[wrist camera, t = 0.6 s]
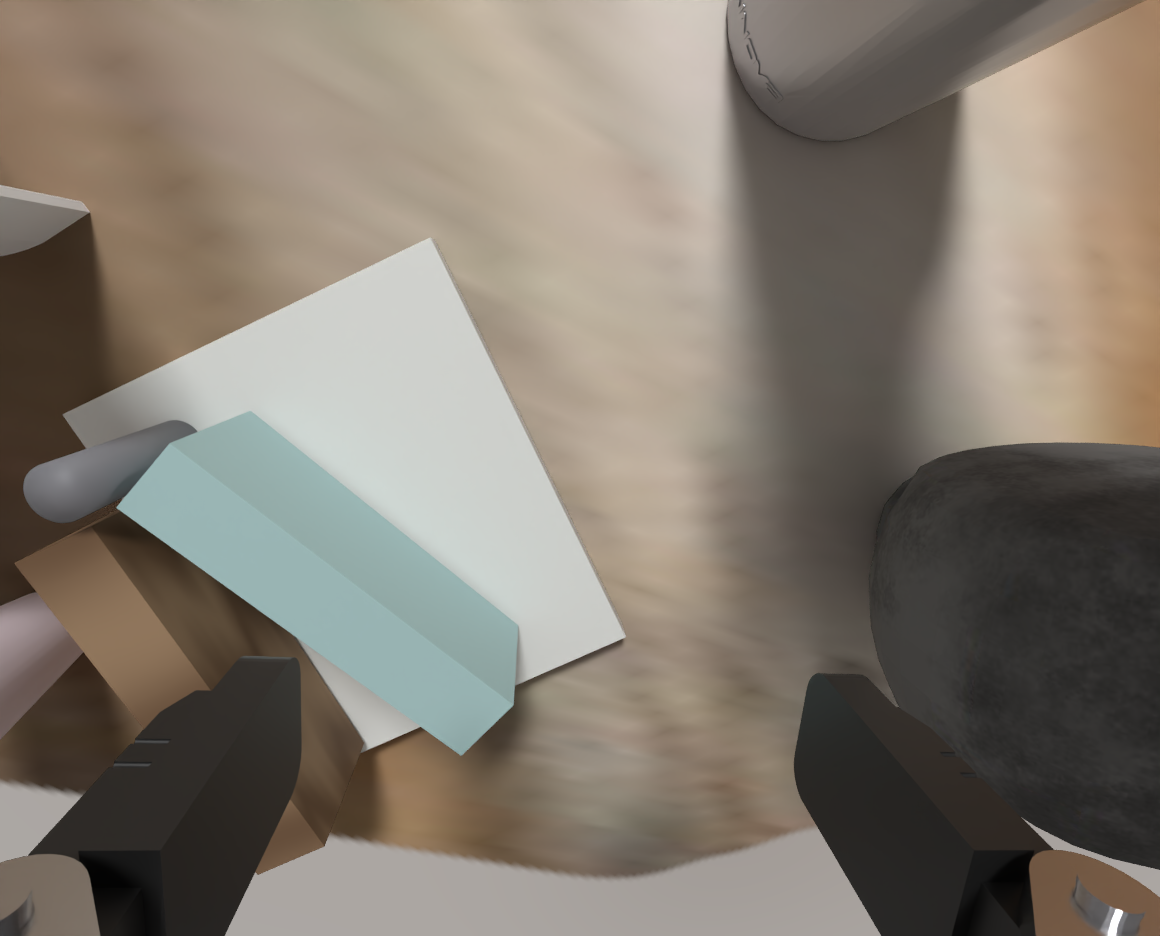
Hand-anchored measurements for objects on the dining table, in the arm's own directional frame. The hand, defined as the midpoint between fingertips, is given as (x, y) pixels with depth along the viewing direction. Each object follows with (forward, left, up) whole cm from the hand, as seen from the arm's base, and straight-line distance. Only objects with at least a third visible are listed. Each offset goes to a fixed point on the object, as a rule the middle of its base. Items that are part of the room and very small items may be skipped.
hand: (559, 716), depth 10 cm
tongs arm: (+10, 0, -19) cm, 21 cm away
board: (+9, 0, -20) cm, 22 cm away
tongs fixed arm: (+16, +2, -18) cm, 24 cm away
